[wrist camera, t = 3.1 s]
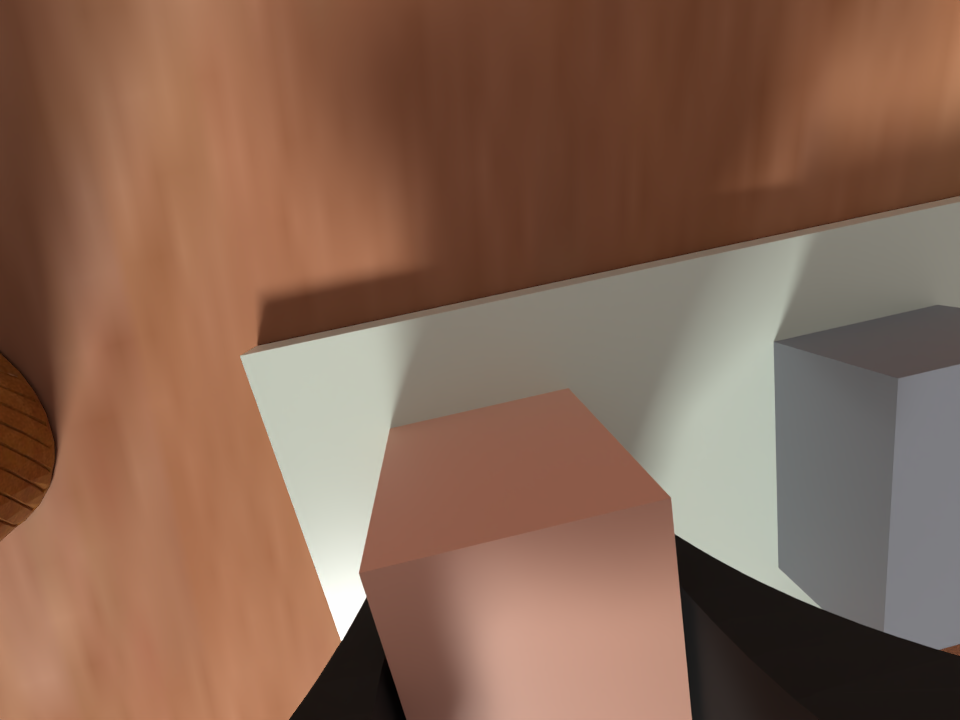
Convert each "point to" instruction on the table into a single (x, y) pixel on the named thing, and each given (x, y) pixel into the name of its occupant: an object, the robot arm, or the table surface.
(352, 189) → the table surface
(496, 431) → the terracotta brick
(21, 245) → the table surface
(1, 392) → the disposable coffee cup
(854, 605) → the charcoal brick
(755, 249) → the baseplate
